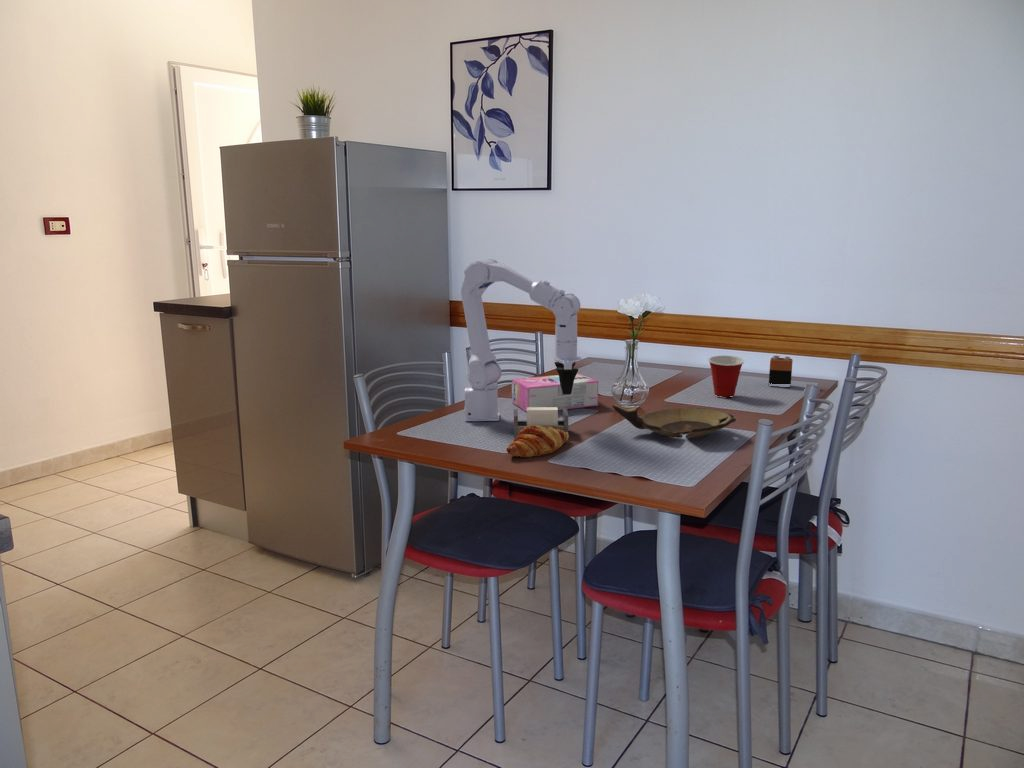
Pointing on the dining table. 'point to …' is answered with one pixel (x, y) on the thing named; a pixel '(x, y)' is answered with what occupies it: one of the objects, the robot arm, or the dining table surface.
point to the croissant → (537, 441)
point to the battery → (780, 370)
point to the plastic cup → (725, 374)
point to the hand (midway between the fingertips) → (565, 391)
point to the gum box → (554, 392)
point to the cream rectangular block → (542, 416)
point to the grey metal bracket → (561, 425)
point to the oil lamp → (678, 421)
